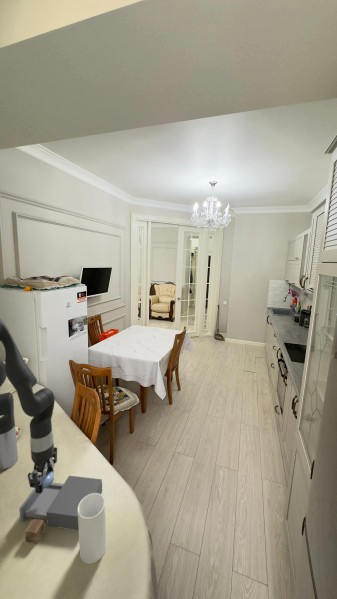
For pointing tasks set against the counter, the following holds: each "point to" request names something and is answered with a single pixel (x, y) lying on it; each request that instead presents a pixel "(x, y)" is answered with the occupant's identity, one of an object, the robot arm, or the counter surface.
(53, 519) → the housing
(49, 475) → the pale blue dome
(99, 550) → the cup
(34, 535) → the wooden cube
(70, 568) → the counter surface
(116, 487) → the counter surface
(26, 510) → the tray
